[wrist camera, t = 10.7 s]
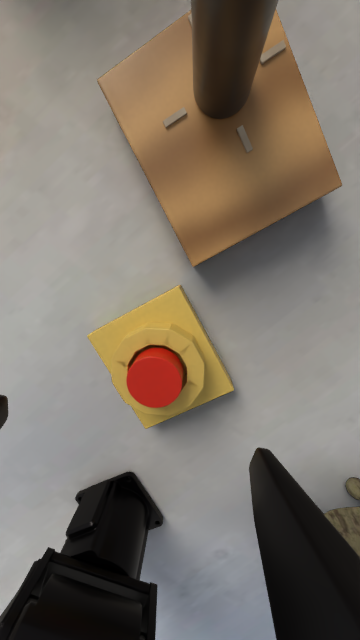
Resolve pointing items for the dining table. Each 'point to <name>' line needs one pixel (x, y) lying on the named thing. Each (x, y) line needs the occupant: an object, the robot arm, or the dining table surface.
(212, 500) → the dining table surface
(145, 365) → the button
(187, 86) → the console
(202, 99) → the knob
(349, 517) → the tabletop clock
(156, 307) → the button box
